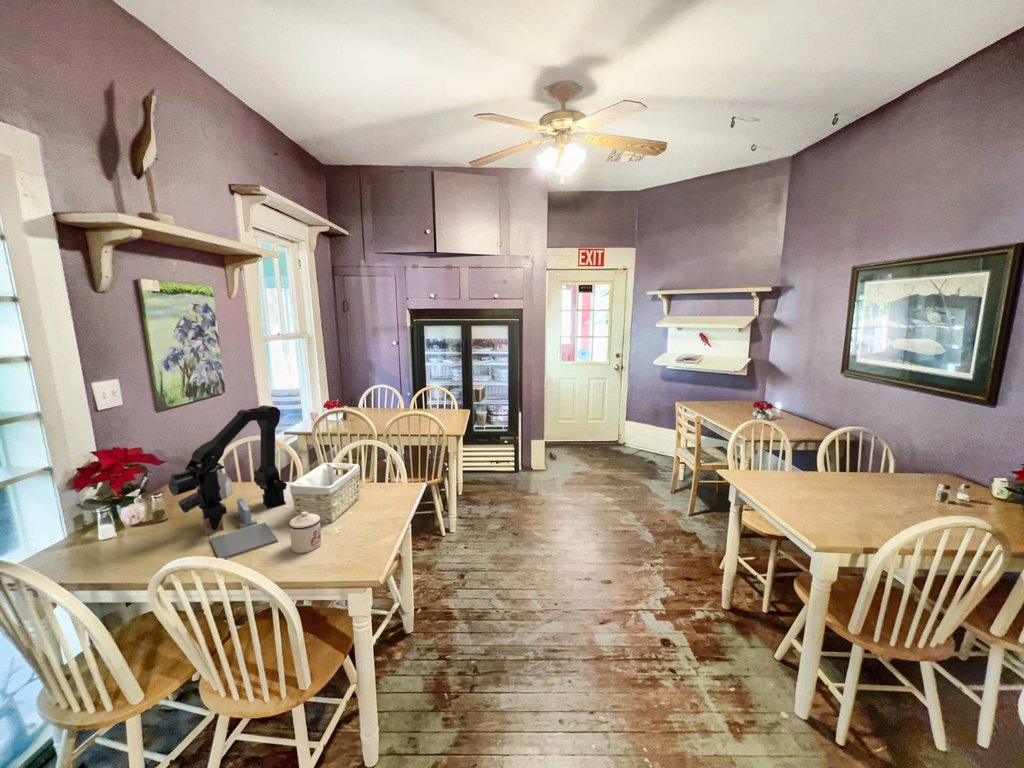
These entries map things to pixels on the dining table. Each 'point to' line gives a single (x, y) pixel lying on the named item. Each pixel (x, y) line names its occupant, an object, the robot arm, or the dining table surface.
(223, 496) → the grey block
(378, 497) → the dining table surface
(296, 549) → the lidded ceramic jar
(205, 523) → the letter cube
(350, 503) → the storage basket
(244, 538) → the tile
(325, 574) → the dining table surface
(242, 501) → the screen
